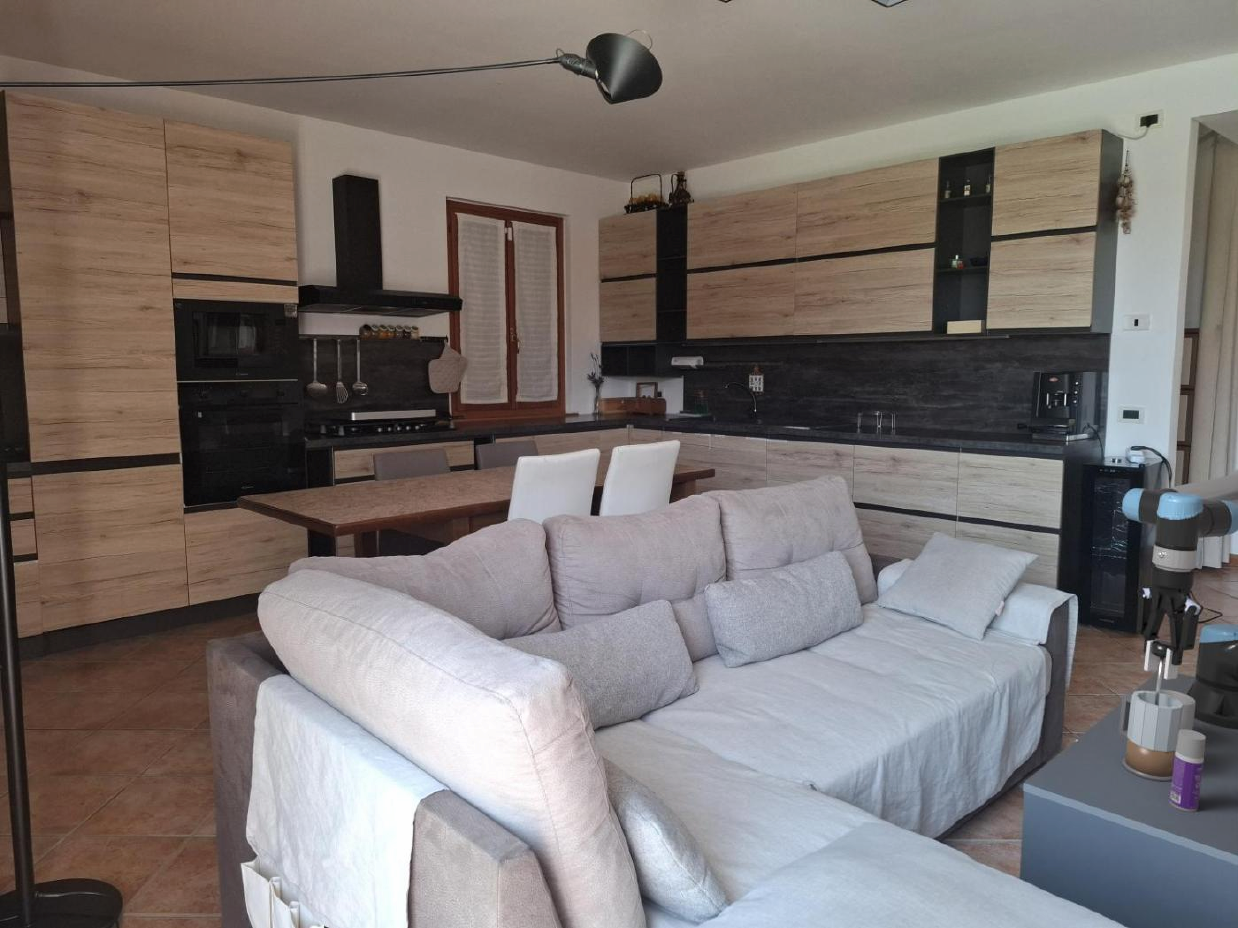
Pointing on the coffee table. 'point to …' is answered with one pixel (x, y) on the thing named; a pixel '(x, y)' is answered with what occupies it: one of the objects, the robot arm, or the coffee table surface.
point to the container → (1187, 770)
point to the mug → (1184, 708)
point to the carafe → (1150, 734)
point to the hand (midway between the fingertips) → (1160, 673)
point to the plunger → (1161, 651)
